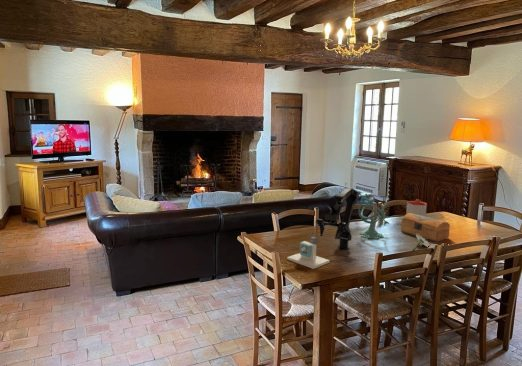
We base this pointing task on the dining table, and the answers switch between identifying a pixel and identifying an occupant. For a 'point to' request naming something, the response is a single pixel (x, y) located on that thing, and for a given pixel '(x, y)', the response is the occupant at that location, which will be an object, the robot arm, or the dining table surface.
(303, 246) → the spacer
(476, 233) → the dining table surface
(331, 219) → the robot arm
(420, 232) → the wooden box
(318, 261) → the white mounting stand
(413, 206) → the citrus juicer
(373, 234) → the green tall branching piece
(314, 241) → the grey block
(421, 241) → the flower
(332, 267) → the dining table surface
